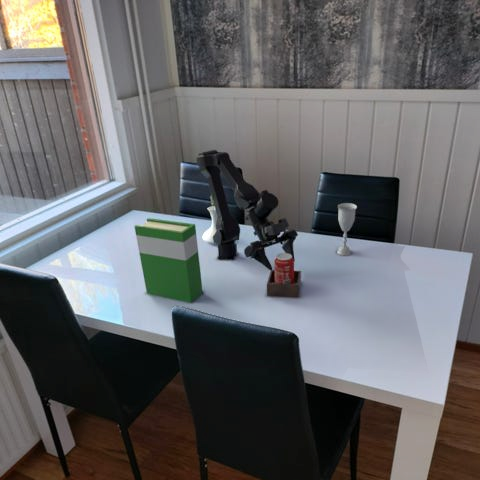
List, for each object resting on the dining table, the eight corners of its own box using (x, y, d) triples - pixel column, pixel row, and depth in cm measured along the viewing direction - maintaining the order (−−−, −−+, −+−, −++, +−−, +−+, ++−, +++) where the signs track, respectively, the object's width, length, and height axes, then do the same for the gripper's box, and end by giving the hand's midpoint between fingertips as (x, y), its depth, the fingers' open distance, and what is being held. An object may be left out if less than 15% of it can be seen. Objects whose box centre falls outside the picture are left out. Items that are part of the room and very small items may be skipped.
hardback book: (146, 293, 158) (134, 226, 145) (159, 283, 164) (148, 218, 151) (191, 302, 151) (182, 232, 138) (202, 292, 157) (195, 224, 144)
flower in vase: (229, 245, 189) (225, 183, 176) (201, 246, 190) (195, 184, 176) (230, 233, 200) (226, 174, 187) (204, 234, 201) (198, 175, 187)
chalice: (332, 249, 180) (335, 203, 170) (350, 248, 180) (353, 202, 171) (337, 257, 174) (340, 210, 164) (355, 255, 174) (359, 208, 164)
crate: (267, 296, 152) (266, 283, 150) (271, 281, 161) (270, 269, 158) (298, 297, 150) (298, 285, 148) (300, 282, 159) (301, 270, 156)
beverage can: (293, 284, 158) (294, 252, 151) (293, 293, 152) (294, 260, 146) (275, 284, 158) (274, 252, 152) (274, 293, 153) (273, 260, 147)
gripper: (247, 219, 142) (270, 263, 140) (294, 205, 151) (316, 246, 149) (234, 236, 152) (255, 278, 150) (279, 222, 161) (300, 261, 158)
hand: (282, 265), depth 151 cm, fingers open, 9 cm apart
